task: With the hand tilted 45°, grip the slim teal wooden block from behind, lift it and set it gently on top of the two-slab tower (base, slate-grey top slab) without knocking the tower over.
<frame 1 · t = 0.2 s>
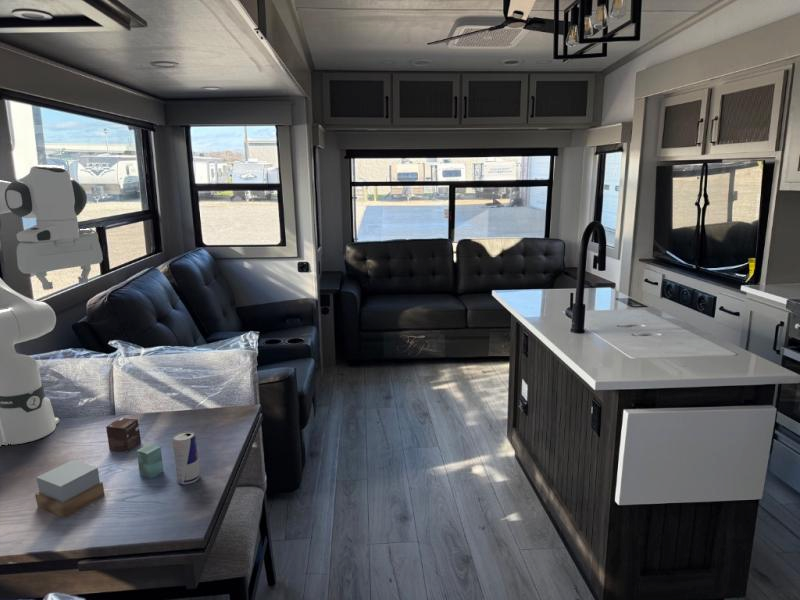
hand: (66, 286, 143), 48 cm above the table, tool pointing down, fingers open, 8 cm apart
tower top: (70, 487, 133), point 3 cm above the table, touching tower base
tower base: (72, 503, 134), on the table, touching tower top
box: (125, 447, 160), on the table
block: (151, 473, 146), on the table
energy drink: (188, 479, 143), on the table
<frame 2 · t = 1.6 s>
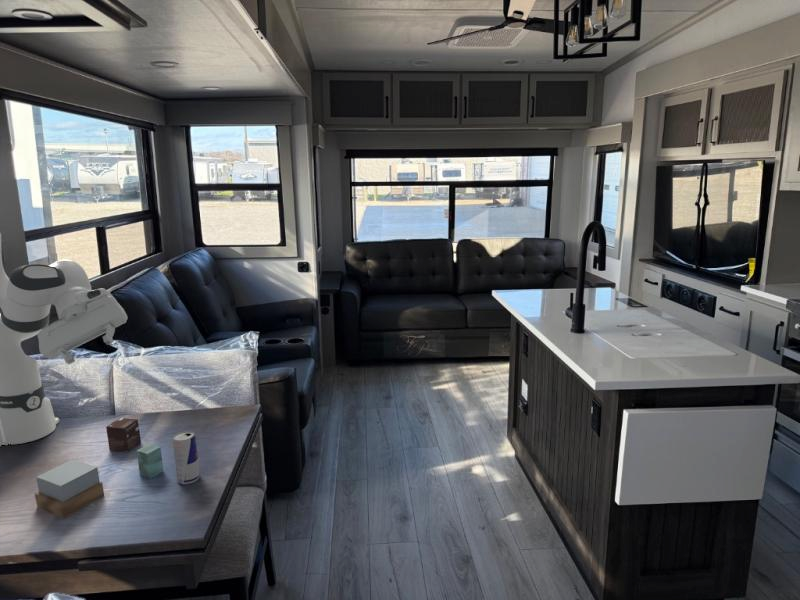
hand: (89, 352, 133), 35 cm above the table, tool tilted 55°, fingers open, 8 cm apart
tower top: (69, 487, 133), point 4 cm above the table
tower base: (71, 502, 134), on the table
everything else where it was.
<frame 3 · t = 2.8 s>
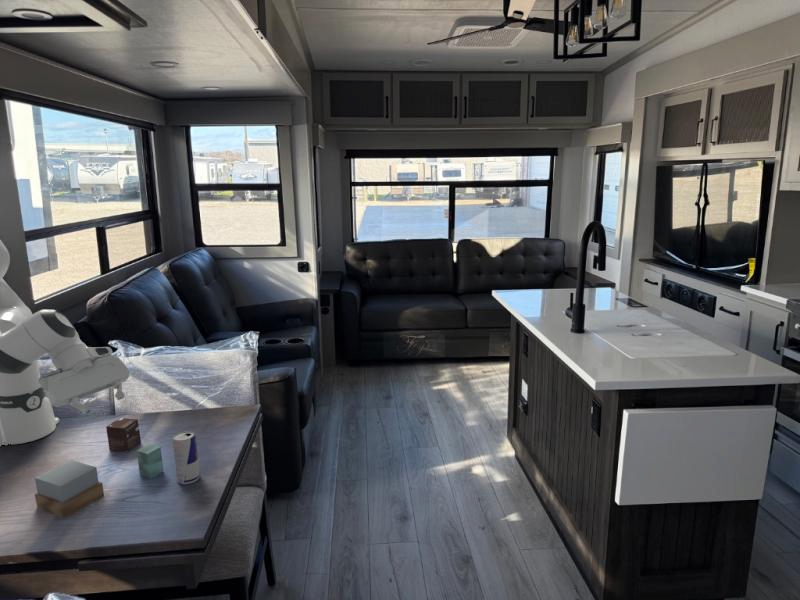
hand: (105, 404, 145), 17 cm above the table, tool tilted 45°, fingers open, 8 cm apart
tower top: (68, 487, 133), point 4 cm above the table, touching tower base
tower base: (71, 503, 134), on the table, touching tower top
everything else where it was.
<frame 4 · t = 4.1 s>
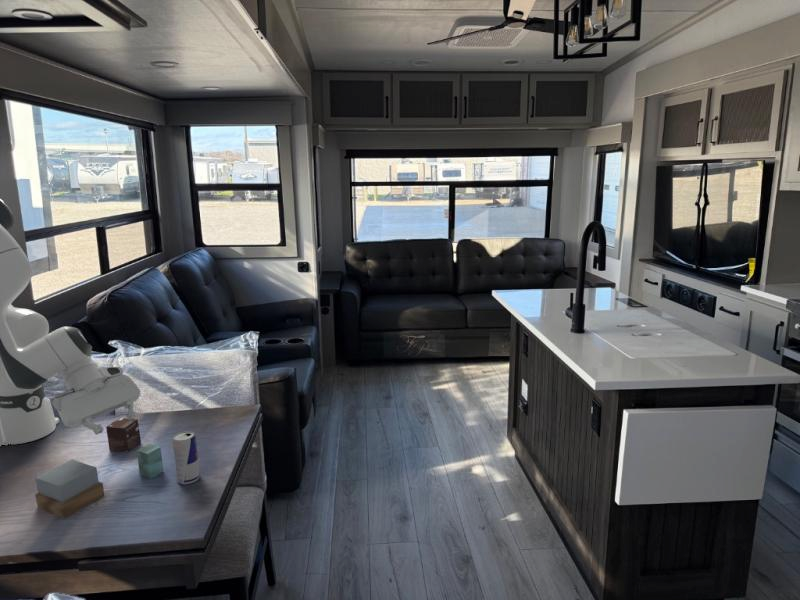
hand: (117, 425, 146), 12 cm above the table, tool tilted 45°, fingers open, 8 cm apart
nothing on the table moved.
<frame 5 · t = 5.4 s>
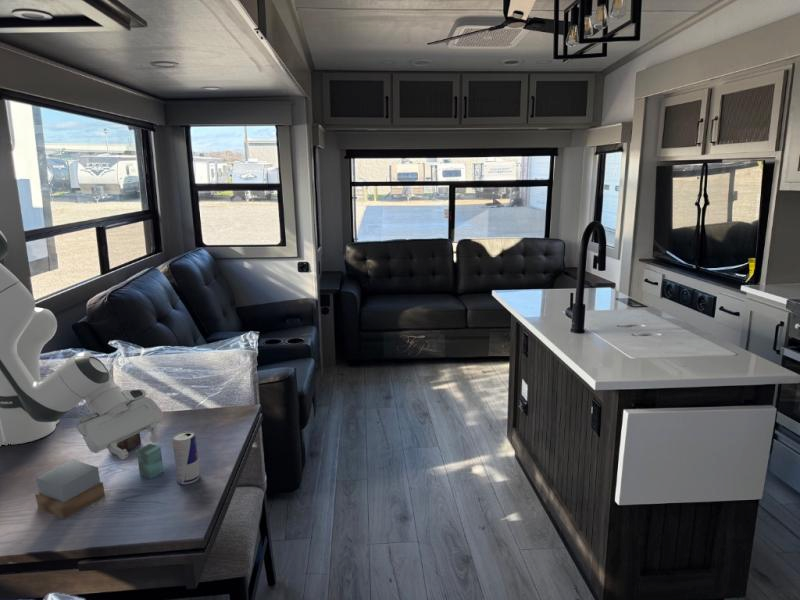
hand: (141, 449, 144), 7 cm above the table, tool tilted 45°, fingers open, 8 cm apart
nothing on the table moved.
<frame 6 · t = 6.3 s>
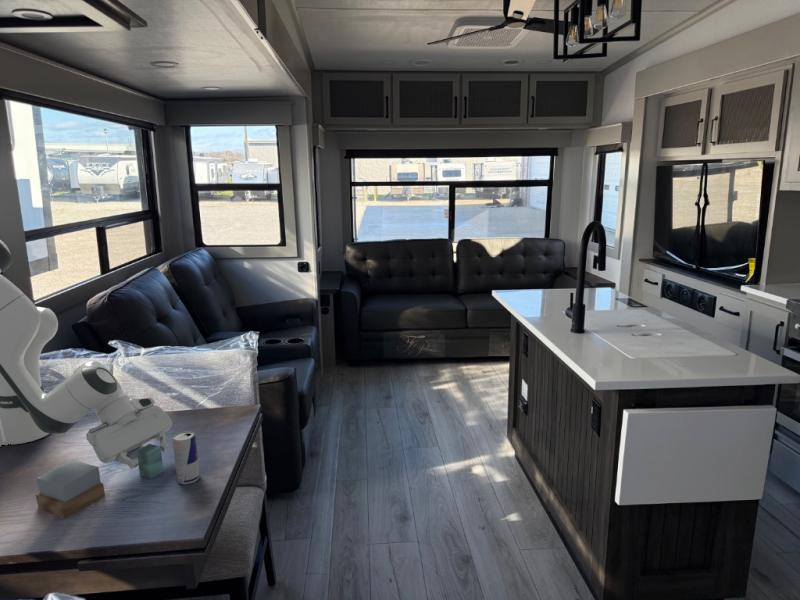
hand: (151, 458, 144), 4 cm above the table, tool tilted 45°, fingers open, 8 cm apart
nothing on the table moved.
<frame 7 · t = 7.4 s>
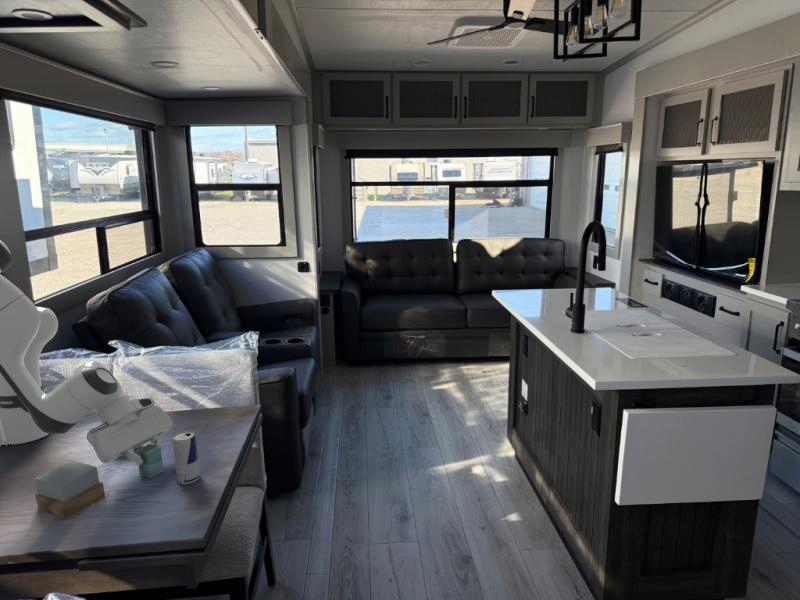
hand: (151, 458, 144), 4 cm above the table, tool tilted 45°, fingers closed on block, 4 cm apart
tower top: (69, 487, 133), point 4 cm above the table
tower base: (72, 503, 134), on the table
block: (151, 473, 146), on the table, touching gripper
everything else where it was.
when the fingers open (14 cm above the table, at t = 13.4 s): block drops 2 cm, resting on tower top.
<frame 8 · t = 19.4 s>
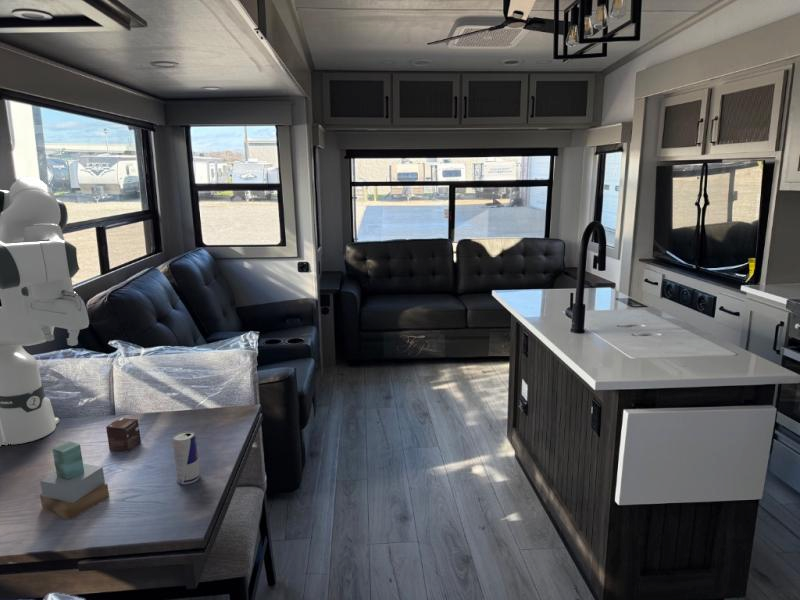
hand: (61, 342, 143), 34 cm above the table, tool pointing down, fingers open, 8 cm apart
tower top: (74, 489, 133), point 4 cm above the table, touching block, tower base
tower base: (76, 504, 133), on the table, touching tower top
block: (70, 474, 131), point 8 cm above the table, touching tower top
everything else where it was.
at the end: block 0.3 cm off-centre on the tower top, point 4.0 cm above the tower top's base; tower top moved 1.7 cm from its start; block tilted 0° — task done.
